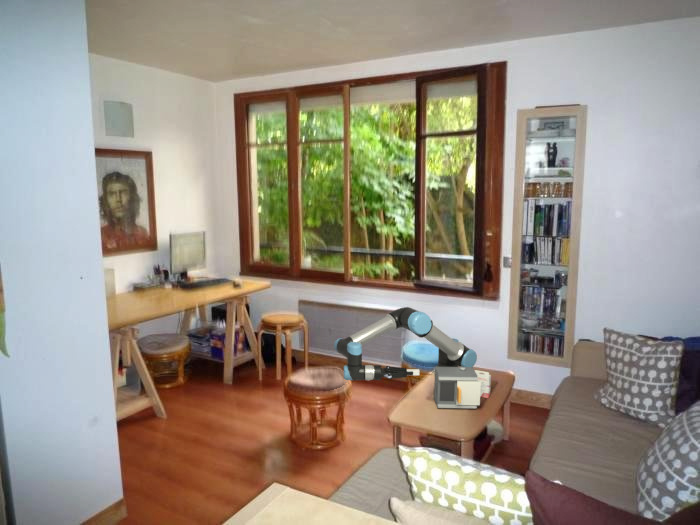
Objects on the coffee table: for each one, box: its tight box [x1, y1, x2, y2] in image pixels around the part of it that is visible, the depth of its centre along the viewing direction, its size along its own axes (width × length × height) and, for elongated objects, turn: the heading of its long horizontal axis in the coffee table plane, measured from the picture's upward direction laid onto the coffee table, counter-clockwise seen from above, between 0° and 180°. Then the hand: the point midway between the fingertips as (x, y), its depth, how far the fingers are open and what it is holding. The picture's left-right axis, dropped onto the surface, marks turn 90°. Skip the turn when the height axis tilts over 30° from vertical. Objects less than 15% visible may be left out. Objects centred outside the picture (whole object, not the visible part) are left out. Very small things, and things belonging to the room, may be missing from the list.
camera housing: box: [433, 366, 478, 410], centre depth 266 cm, size 14×20×19 cm
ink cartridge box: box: [474, 369, 492, 399], centre depth 278 cm, size 9×5×15 cm, turn 62°
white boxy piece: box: [456, 380, 481, 406], centre depth 258 cm, size 6×12×13 cm, turn 89°
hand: (419, 372), depth 260 cm, fingers closed
